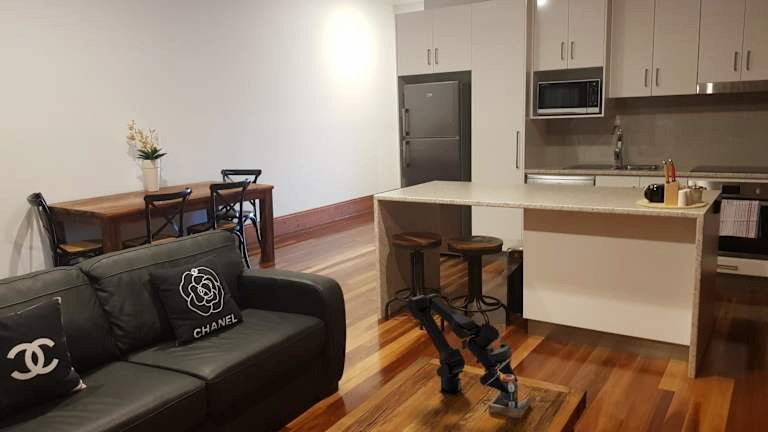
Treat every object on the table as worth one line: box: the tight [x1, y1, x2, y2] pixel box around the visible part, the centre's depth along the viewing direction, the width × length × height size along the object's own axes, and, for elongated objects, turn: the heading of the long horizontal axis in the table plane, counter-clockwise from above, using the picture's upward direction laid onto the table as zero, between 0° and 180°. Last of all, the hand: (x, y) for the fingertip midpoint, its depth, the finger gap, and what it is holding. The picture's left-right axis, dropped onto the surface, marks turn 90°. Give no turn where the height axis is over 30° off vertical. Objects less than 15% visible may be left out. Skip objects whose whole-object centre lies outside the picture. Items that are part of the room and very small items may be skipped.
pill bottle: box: [500, 374, 519, 409], centre depth 204 cm, size 6×6×11 cm
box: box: [488, 390, 531, 420], centre depth 205 cm, size 11×11×3 cm
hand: (512, 387), depth 203 cm, fingers open, 9 cm apart
